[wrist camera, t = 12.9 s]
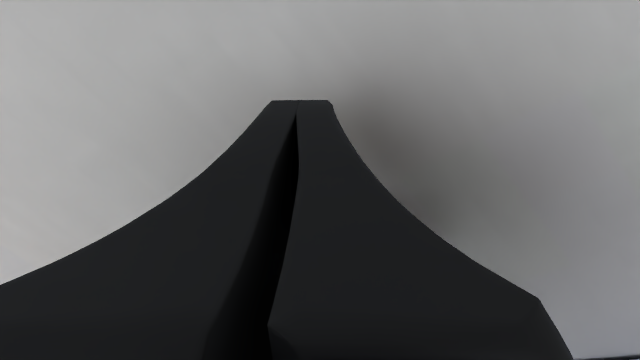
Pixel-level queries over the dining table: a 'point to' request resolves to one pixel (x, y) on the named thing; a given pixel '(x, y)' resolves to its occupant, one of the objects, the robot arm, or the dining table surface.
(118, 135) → the dining table surface
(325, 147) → the robot arm
